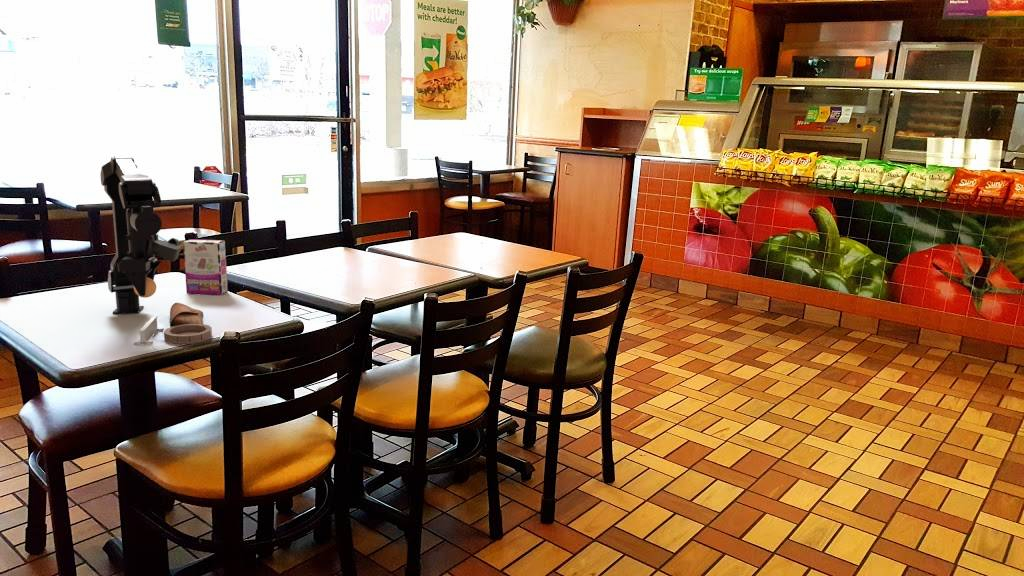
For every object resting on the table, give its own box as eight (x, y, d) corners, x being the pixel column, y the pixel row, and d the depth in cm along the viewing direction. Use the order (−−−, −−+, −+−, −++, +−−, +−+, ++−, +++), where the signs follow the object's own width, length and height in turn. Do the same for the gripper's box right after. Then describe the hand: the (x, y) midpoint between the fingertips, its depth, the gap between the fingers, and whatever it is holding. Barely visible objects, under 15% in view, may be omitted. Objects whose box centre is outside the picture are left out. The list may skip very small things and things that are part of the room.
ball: (138, 295, 188) (136, 275, 187) (159, 294, 189) (158, 275, 188) (131, 299, 183) (130, 279, 182) (153, 299, 184) (152, 279, 183)
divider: (147, 330, 194) (146, 316, 194) (163, 329, 195) (162, 316, 194) (133, 344, 183) (132, 330, 182) (151, 344, 184) (150, 330, 183)
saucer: (170, 331, 194) (169, 324, 193) (215, 331, 196) (215, 323, 195) (159, 345, 183) (158, 336, 183) (207, 344, 185) (207, 335, 185)
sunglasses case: (206, 328, 196) (190, 307, 193) (181, 343, 194) (165, 322, 191) (203, 311, 212) (188, 292, 209) (180, 326, 210) (165, 306, 207)
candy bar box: (228, 292, 235) (226, 240, 232) (222, 296, 231) (219, 242, 227) (193, 290, 236) (189, 238, 232) (185, 294, 231) (182, 241, 227)
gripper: (165, 236, 175) (170, 302, 178) (185, 224, 193) (189, 284, 196) (113, 236, 173) (119, 302, 176) (139, 224, 191) (143, 285, 194)
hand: (145, 293), depth 186 cm, fingers closed on ball, 5 cm apart
